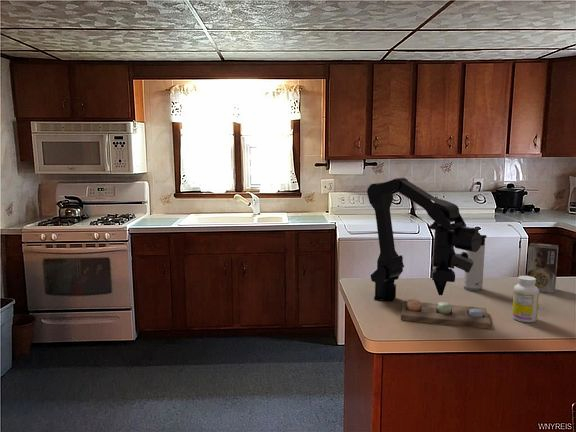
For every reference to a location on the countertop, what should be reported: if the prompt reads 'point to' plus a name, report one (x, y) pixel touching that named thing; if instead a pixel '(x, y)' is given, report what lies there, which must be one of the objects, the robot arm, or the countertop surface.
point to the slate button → (475, 313)
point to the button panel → (446, 315)
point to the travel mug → (475, 269)
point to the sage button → (444, 308)
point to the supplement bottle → (525, 299)
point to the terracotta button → (413, 305)
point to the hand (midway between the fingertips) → (440, 294)
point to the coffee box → (543, 265)
